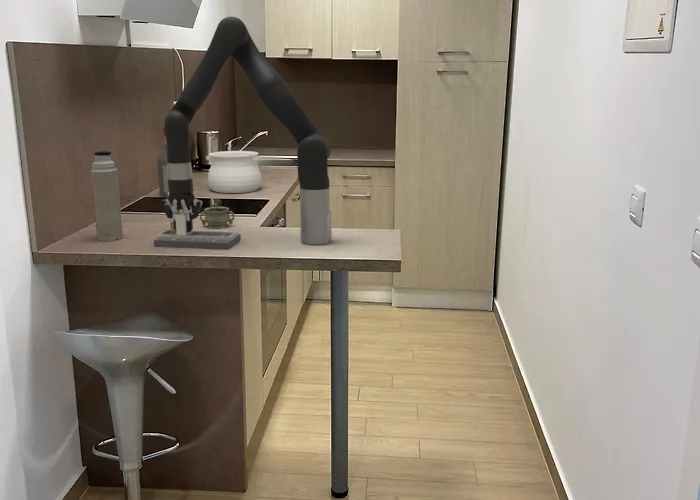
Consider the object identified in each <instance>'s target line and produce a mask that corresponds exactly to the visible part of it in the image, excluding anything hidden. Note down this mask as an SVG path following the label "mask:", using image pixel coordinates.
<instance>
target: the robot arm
mask: <svg viewBox="0 0 700 500" xmlns="http://www.w3.org/2000/svg"><path fill="white" fill-rule="evenodd" d="M230 57H232V58H233V59H234V60H235V62H236V63H237V64H238V65H239V67H241V70H243V72H244V74H245V77H247V80H248V81H249V83H250V86H251V87H252V89H253V90H254V91H253V92H254V93H255V94H256V96H257V97H258V99H259V100H260V101H261V103H262V104H263V105H264V107H265V108H266V110H267V111H268V112H269V113H270V114H271V115H272V117H274V118H275V119H276V120H277V121H278V122H279V123H280V124H281V125H283V127H284V128H286V129H287V130H288V132H289V133H290V135H292V138H293V139H294V140H295V142H296V143H297V145H298V147H297V152H296V159H297V160H296V161H297V163H296V164H297V177H298V178H297V179H298V183H299V204H300V205H299V208H300V209H299V210H300V214H299V215H300V217H299V218H300V221H299V222H300V242H301V243H302V244H304V243H305V245H310V244H313V245H314V246H315V245H316V246H317V245H328V244H329V243H330V242H331V241H332V210H331V209H330V204H331V203H330V199H331V198H330V178H329V173H328V169H329V168H328V159H329V158H330V155H331V151H332V150H331V145H330V143H329V141H328V140H327V138H326V137H325V136H324V135H323V134H322V133H321V131H320V130H319V129H318V128H317V127H316V126H315V124H313V122H312V121H311V120H310V118H309V117H308V115H307V114H306V113H305V111H304V109H303V108H302V105H301V103H300V102H299V101H298V99H297V97H296V96H295V95H294V93H293V91H292V90H291V89H290V87H289V86H288V85H287V82H286V81H285V80H284V79H283V77H282V76H281V75H280V74H279V72H278V71H277V70H276V69H275V68H274V66H272V65H271V64H270V63H269V61H268V60H266V58H265V57H264V56H263V55H262V53H261V52H260V50H259V48H258V47H257V44H255V42H254V40H253V38H252V37H251V34H250V32H249V30H248V27H247V26H246V24H245V23H244V22H243V20H241V18H239V17H236V16H226V17H224V18H222V19H221V20H220V21H219V23H218V24H217V26H216V29H215V31H214V33H213V36H212V38H211V41H210V43H209V46H208V48H207V50H206V52H205V53H204V55H203V57H202V59H201V60H200V61H199V64H198V66H197V67H196V69H195V70H194V72H193V73H192V75H191V76H190V78H189V80H188V82H187V83H186V84H185V86H184V88H183V89H182V91H181V93H180V95H179V97H178V98H177V100H176V102H175V103H174V105H173V106H172V107H171V109H170V110H169V112H168V113H167V114H166V116H165V118H164V121H163V122H164V123H163V125H164V126H163V127H165V135H166V142H167V178H168V191H169V196H168V198H167V199H165V198H163V199H162V200H160V201H159V203H160V206H161V208H162V209H163V211H164V213H165V216H166V217H167V219H170V218H171V219H173V221H174V230H176V217H175V215H176V214H178V213H180V211H181V209H182V210H183V213H184V214H185V215H186V220H187V221H186V228H187V232H191V231H193V228H194V227H193V225H194V223H193V220H195V219H197V218H198V217H199V216H200V214H201V210H202V206H203V203H204V201H203V200H202V199H201V200H199V199H197V198H196V197H195V194H194V181H193V180H194V178H193V168H192V162H191V149H190V145H189V144H190V143H189V141H190V137H189V126H190V123H191V122H192V120H193V118H194V117H195V115H196V113H197V112H198V111H199V110H200V109H201V108H202V106H203V104H204V103H205V101H206V100H207V98H208V96H209V95H210V94H211V92H212V90H213V88H214V86H215V83H216V82H217V79H218V76H219V74H220V72H221V70H222V68H223V67H224V65H225V63H226V62H227V61H228V59H229V58H230ZM169 202H170V203H171V204H172V206H173V212H172V210H171V208H170V206H169V204H170V203H169ZM192 205H193V206H194V207H193V209H192ZM313 245H312V246H313Z"/></svg>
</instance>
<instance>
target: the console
mask: <svg viewBox="0 0 700 500" xmlns="http://www.w3.org/2000/svg"><path fill="white" fill-rule="evenodd" d="M191 233H192V234H191V235H176V234H177V232H176V230H170V229H165V230H163V231H160V232H159V233H157V234H156V238H155V239H153V246H154V247H159V248H184V249H191V248H192V249H209V250H210V249H211V250H212V249H213V250H229V249H231V248H232V247H234V246H235V245H237V244H238V243H240V242H241V241H242V236H241V234H240V233H239V231H237V232H236V231H215V230H212V231H211V230H208V231H207V230H191ZM240 240H241V241H240Z"/></svg>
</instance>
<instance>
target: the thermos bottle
mask: <svg viewBox="0 0 700 500" xmlns="http://www.w3.org/2000/svg"><path fill="white" fill-rule="evenodd" d="M111 155H112V152H111V151H95V152H94V161H93V162H92V165H91V167H92V169H91V170H90V176H91V177H90V178H91V188H92V200H93V209H94V219H95V231H96V239H97V240H98V241H100V240H101V242H112V241H111V240H113V241H117V240H116V239H119V240H121V239H120V238H122V237H123V238H124V233H123V221H122V213H121V212H122V211H121V210H122V209H121V200H120V199H121V196H120V187H119V186H120V184H119V174H118V169H117V168H116V163H115V162H114V161H113V160H112V156H111ZM123 238H122V239H123Z"/></svg>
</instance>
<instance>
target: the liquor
mask: <svg viewBox="0 0 700 500" xmlns="http://www.w3.org/2000/svg"><path fill="white" fill-rule="evenodd" d="M163 135H164V136H163V137H164V149H163V151H162V152H161V153H160V155H159V156H158V157H157V159H156V161H157V173H158V174H157V175H158V177H157V178H158V188H159V189H158V190H159V196H160V197H161V196H162V197H168V192H169V191H168V178H167V142H166V135H165V126H163ZM162 197H161V198H162Z"/></svg>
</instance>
